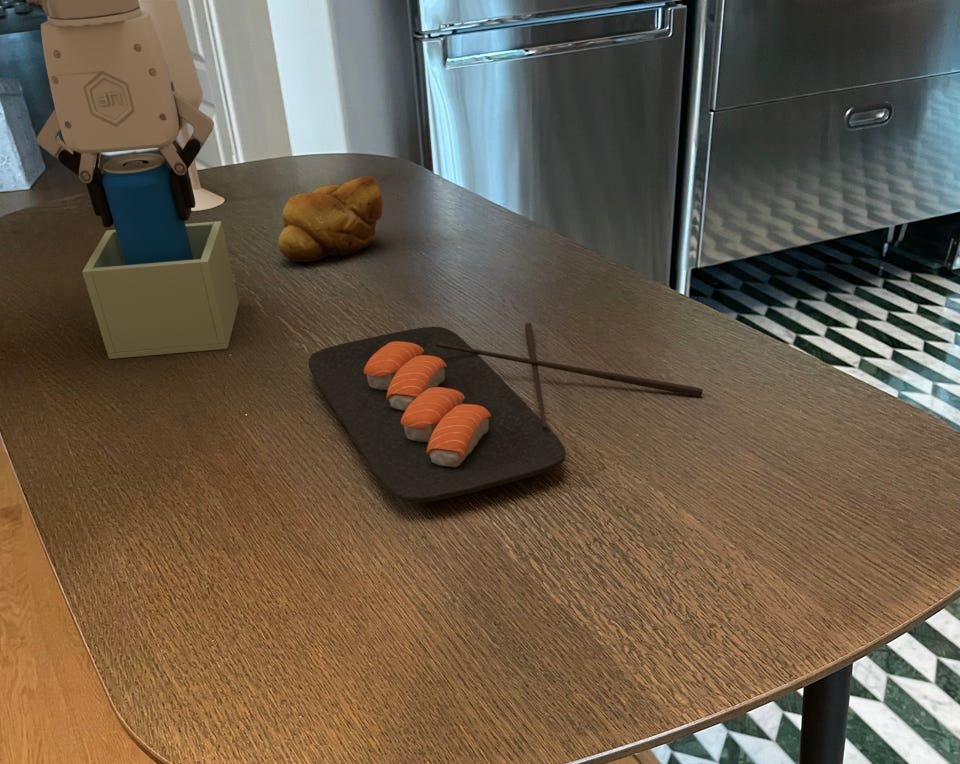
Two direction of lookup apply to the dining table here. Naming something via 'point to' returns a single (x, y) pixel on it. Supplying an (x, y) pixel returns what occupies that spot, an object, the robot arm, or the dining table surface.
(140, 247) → the beverage can
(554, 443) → the sushi plate
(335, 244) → the bread roll
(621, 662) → the dining table surface
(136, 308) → the trash bin
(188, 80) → the champagne flute
